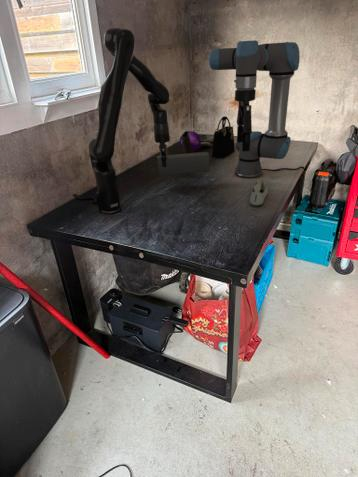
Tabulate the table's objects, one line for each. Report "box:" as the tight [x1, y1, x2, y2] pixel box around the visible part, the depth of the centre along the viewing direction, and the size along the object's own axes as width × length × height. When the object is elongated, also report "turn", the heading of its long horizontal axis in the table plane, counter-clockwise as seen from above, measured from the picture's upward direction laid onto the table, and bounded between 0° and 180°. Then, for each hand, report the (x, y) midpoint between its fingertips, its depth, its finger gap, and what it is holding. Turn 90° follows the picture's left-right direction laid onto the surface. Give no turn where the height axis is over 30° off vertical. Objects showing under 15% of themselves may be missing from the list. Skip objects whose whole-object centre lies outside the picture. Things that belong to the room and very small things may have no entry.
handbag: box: [211, 115, 236, 159], centre depth 219 cm, size 21×9×25 cm, turn 148°
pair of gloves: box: [199, 133, 214, 149], centre depth 252 cm, size 30×26×5 cm
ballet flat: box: [249, 179, 269, 207], centre depth 158 cm, size 8×24×8 cm, turn 163°
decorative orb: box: [178, 130, 202, 153], centre depth 230 cm, size 15×15×15 cm
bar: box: [156, 151, 210, 177], centre depth 172 cm, size 27×5×9 cm, turn 95°
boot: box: [180, 130, 196, 154], centre depth 209 cm, size 9×24×20 cm, turn 168°
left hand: (164, 165), depth 172 cm, fingers closed on bar, 5 cm apart
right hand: (242, 146), depth 133 cm, fingers open, 13 cm apart
